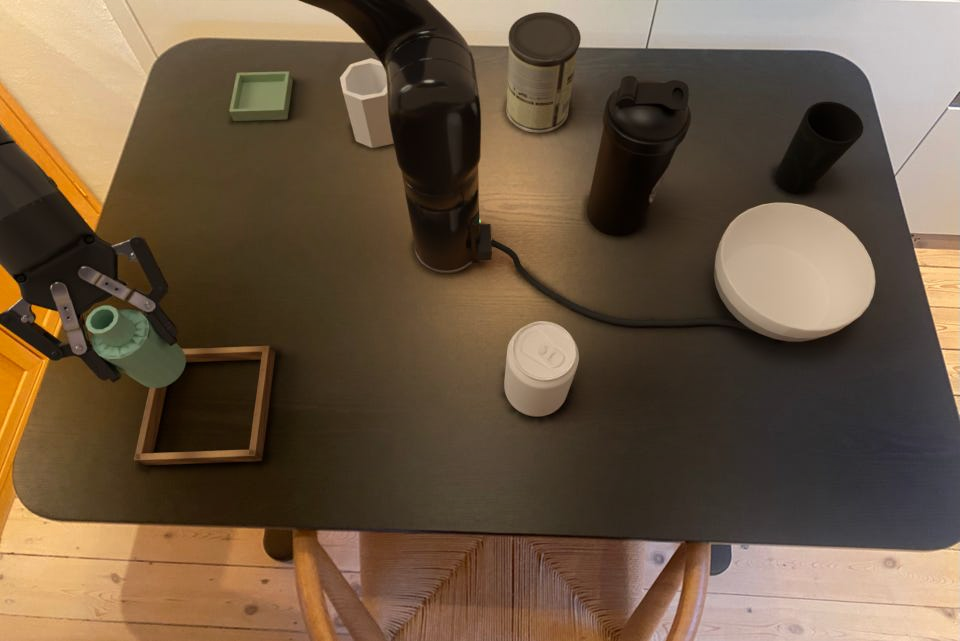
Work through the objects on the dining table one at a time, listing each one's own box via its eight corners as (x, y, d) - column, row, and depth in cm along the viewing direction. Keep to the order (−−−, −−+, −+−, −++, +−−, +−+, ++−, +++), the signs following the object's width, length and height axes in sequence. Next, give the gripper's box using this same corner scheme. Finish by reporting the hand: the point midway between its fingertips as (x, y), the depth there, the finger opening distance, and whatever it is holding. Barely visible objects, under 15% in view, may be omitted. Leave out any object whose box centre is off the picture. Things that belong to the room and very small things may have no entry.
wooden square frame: (275, 353, 80) (269, 345, 77) (262, 461, 73) (255, 455, 71) (167, 357, 79) (157, 349, 77) (144, 465, 73) (133, 460, 71)
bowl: (842, 258, 86) (878, 222, 78) (834, 377, 78) (874, 349, 70) (708, 225, 88) (730, 187, 81) (688, 336, 80) (710, 306, 73)
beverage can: (529, 347, 80) (536, 304, 69) (579, 383, 78) (595, 345, 67) (491, 391, 77) (492, 354, 66) (541, 431, 75) (551, 399, 64)
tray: (292, 81, 102) (289, 71, 100) (287, 119, 98) (283, 109, 96) (241, 82, 102) (236, 72, 100) (233, 121, 98) (228, 111, 96)
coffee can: (506, 86, 101) (509, 10, 89) (567, 88, 101) (579, 12, 88) (504, 133, 97) (507, 59, 84) (569, 134, 96) (582, 61, 84)
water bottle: (647, 246, 87) (698, 129, 66) (576, 234, 88) (605, 116, 67) (652, 191, 91) (702, 65, 71) (585, 180, 92) (614, 53, 72)
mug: (347, 146, 96) (334, 98, 87) (357, 106, 99) (345, 56, 91) (423, 151, 95) (417, 103, 86) (429, 111, 99) (424, 61, 90)
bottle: (190, 341, 65) (137, 292, 55) (181, 387, 63) (124, 344, 53) (141, 343, 65) (80, 294, 55) (131, 389, 63) (65, 346, 53)
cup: (829, 191, 91) (875, 133, 80) (786, 206, 90) (828, 150, 79) (799, 154, 94) (840, 94, 84) (757, 168, 93) (793, 109, 82)
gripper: (-85, 258, 47) (70, 417, 54) (89, 166, 51) (214, 325, 58) (-54, 251, 54) (82, 394, 60) (98, 170, 58) (210, 312, 64)
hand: (146, 359), depth 59 cm, fingers closed on bottle, 5 cm apart
